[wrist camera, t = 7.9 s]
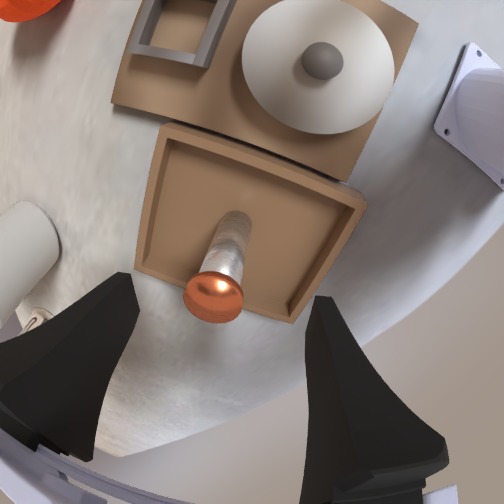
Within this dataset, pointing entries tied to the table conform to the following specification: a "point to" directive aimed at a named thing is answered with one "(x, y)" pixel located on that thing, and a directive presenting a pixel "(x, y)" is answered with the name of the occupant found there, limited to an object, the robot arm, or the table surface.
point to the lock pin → (221, 272)
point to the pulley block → (269, 71)
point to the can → (24, 253)
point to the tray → (252, 204)
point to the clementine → (24, 9)
